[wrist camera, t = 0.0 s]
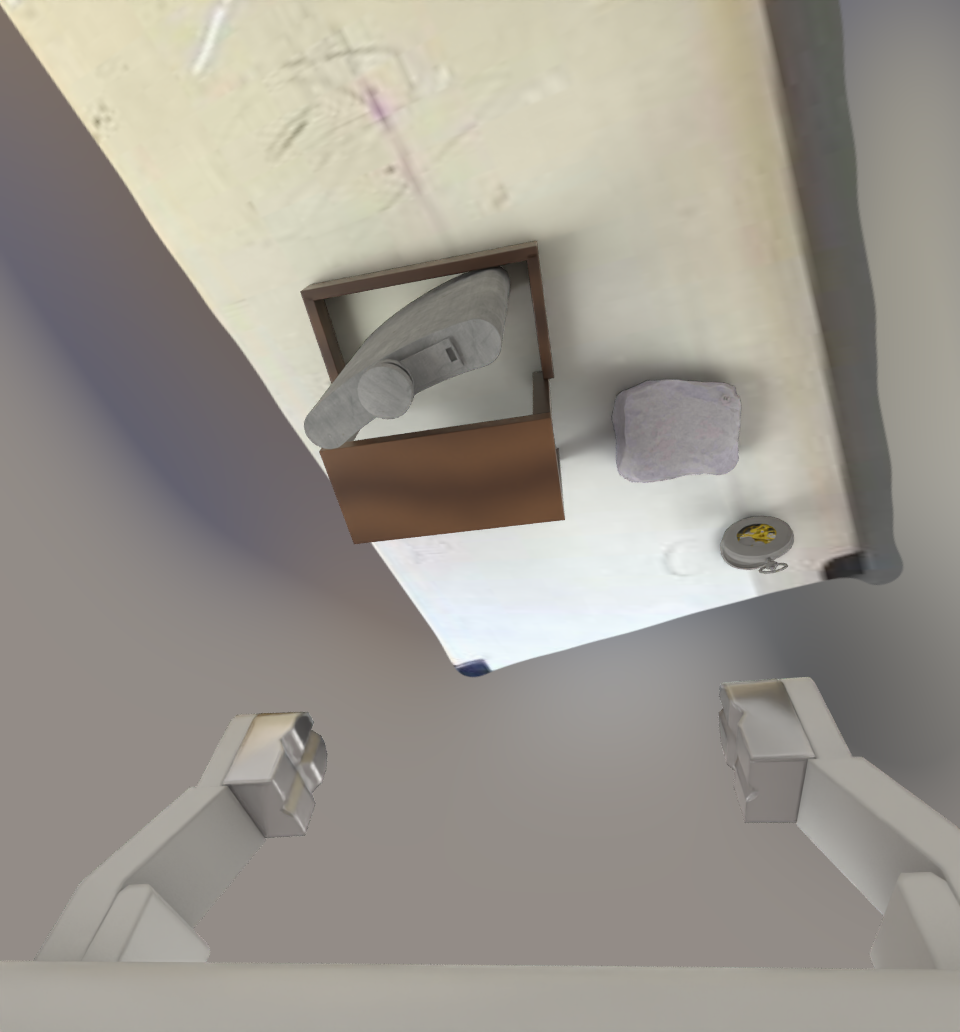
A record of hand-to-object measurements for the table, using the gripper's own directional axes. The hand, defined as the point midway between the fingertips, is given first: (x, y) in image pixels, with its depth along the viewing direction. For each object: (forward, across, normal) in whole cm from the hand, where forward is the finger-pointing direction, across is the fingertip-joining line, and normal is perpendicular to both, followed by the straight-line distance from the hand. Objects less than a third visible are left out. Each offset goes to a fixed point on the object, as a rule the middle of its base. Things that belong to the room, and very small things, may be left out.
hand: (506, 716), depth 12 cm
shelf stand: (+48, +10, +10) cm, 50 cm away
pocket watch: (+48, -20, +32) cm, 61 cm away
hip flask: (+48, +10, +3) cm, 49 cm away
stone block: (+48, -12, +17) cm, 53 cm away
